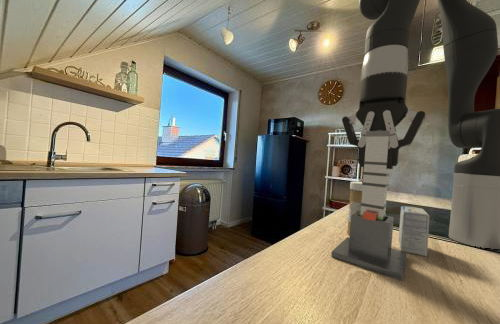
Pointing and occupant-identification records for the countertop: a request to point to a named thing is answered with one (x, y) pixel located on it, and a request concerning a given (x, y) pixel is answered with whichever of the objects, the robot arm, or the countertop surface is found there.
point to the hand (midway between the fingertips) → (376, 167)
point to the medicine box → (413, 230)
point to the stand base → (372, 245)
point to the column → (375, 173)
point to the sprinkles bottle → (354, 200)
